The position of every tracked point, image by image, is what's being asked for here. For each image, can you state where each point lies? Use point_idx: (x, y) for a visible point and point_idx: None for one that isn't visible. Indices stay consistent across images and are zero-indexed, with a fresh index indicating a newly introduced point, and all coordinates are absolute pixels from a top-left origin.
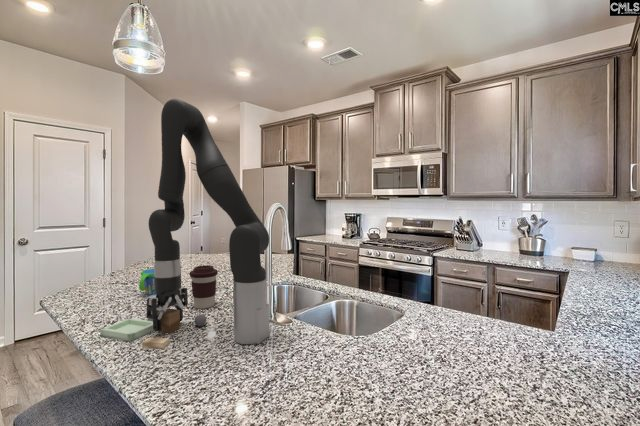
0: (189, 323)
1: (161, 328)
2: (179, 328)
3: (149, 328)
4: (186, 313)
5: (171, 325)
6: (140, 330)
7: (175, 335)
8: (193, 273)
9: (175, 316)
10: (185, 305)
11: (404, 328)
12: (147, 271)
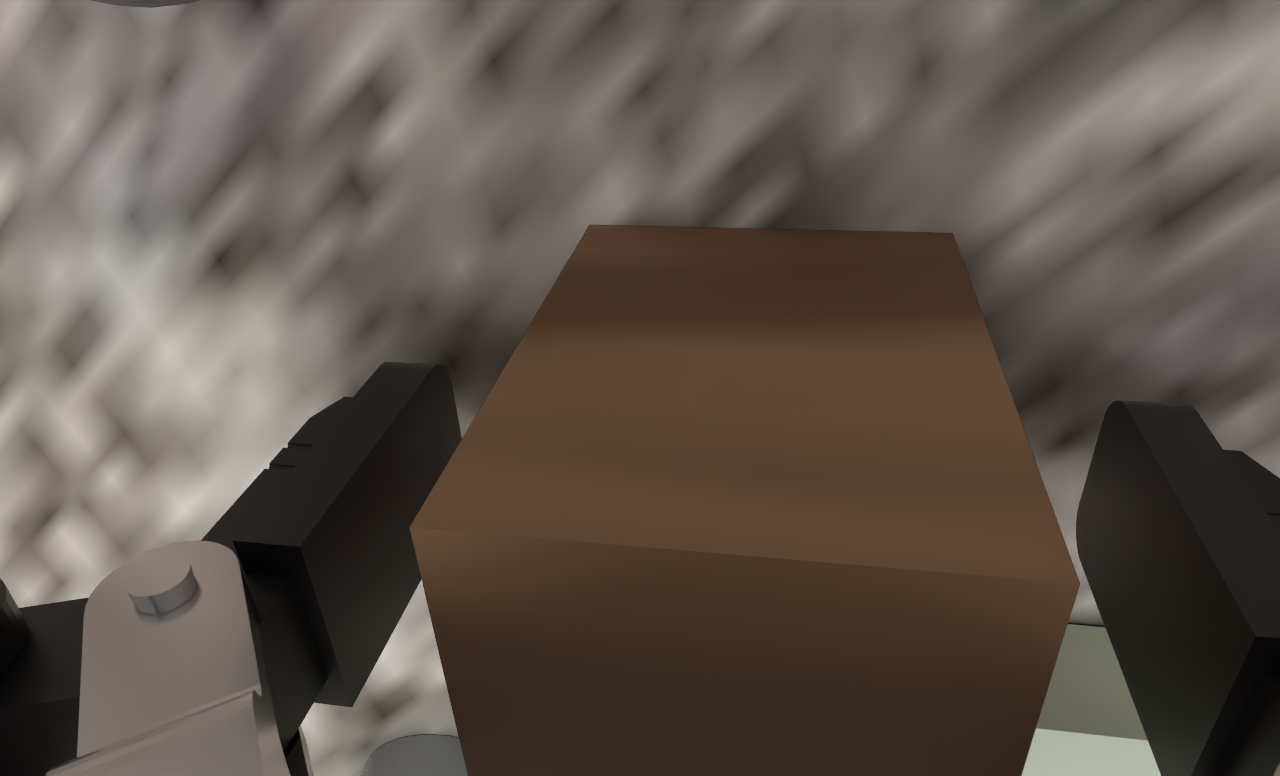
0: (277, 234)
1: (1139, 424)
2: (608, 228)
3: None
4: (36, 590)
5: (878, 316)
6: None
7: (1009, 4)
8: None
9: (687, 427)
10: (7, 600)
11: None
12: None
